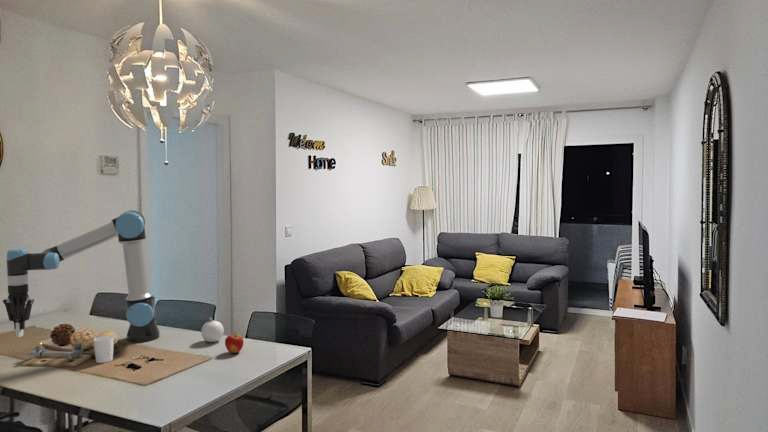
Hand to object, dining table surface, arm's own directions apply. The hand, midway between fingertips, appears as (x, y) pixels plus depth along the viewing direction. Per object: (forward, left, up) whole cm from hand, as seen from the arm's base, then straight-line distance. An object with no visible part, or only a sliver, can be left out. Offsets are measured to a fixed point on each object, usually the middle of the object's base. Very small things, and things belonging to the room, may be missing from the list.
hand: (19, 336), depth 240 cm
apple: (-93, -12, -10) cm, 94 cm away
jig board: (-19, +3, -10) cm, 22 cm away
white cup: (-39, +1, -10) cm, 40 cm away
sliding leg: (-8, +2, -9) cm, 12 cm away
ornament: (-77, -28, -10) cm, 83 cm away
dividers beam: (-18, +2, -9) cm, 20 cm away
